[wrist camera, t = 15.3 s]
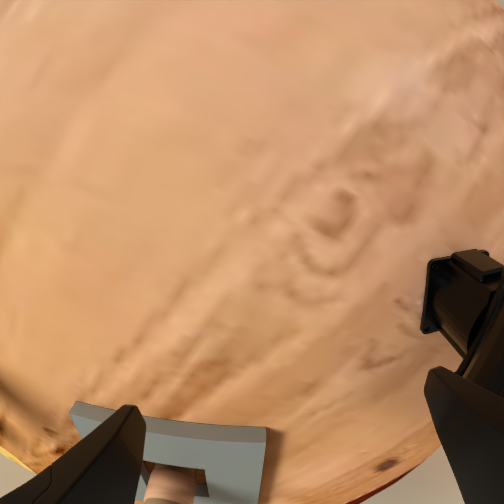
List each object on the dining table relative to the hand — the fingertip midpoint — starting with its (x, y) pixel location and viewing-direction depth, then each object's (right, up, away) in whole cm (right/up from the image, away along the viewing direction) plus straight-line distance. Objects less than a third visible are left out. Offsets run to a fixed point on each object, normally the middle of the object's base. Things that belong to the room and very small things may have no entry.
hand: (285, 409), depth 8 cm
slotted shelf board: (-10, -21, +21) cm, 31 cm away
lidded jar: (-10, -21, +21) cm, 31 cm away
